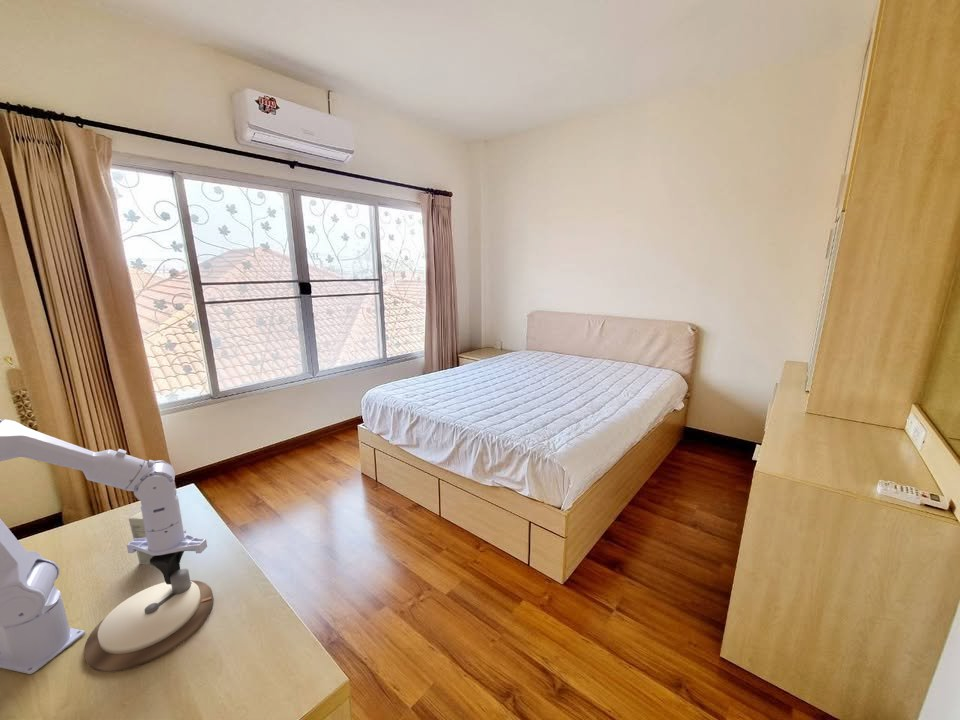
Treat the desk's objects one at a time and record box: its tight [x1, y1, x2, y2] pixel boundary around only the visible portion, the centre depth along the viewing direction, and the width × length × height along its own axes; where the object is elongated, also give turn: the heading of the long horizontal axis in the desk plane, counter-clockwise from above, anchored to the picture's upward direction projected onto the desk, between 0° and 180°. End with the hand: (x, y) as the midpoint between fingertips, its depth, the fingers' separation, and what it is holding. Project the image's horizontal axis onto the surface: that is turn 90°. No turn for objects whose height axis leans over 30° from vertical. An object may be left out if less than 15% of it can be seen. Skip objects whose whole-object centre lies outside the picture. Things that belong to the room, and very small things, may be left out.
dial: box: [98, 568, 201, 654], centre depth 73 cm, size 15×15×5 cm
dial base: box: [83, 579, 215, 673], centre depth 74 cm, size 19×19×1 cm
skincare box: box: [128, 510, 154, 566], centre depth 90 cm, size 6×4×12 cm
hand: (173, 580), depth 79 cm, fingers closed, pressing on dial
